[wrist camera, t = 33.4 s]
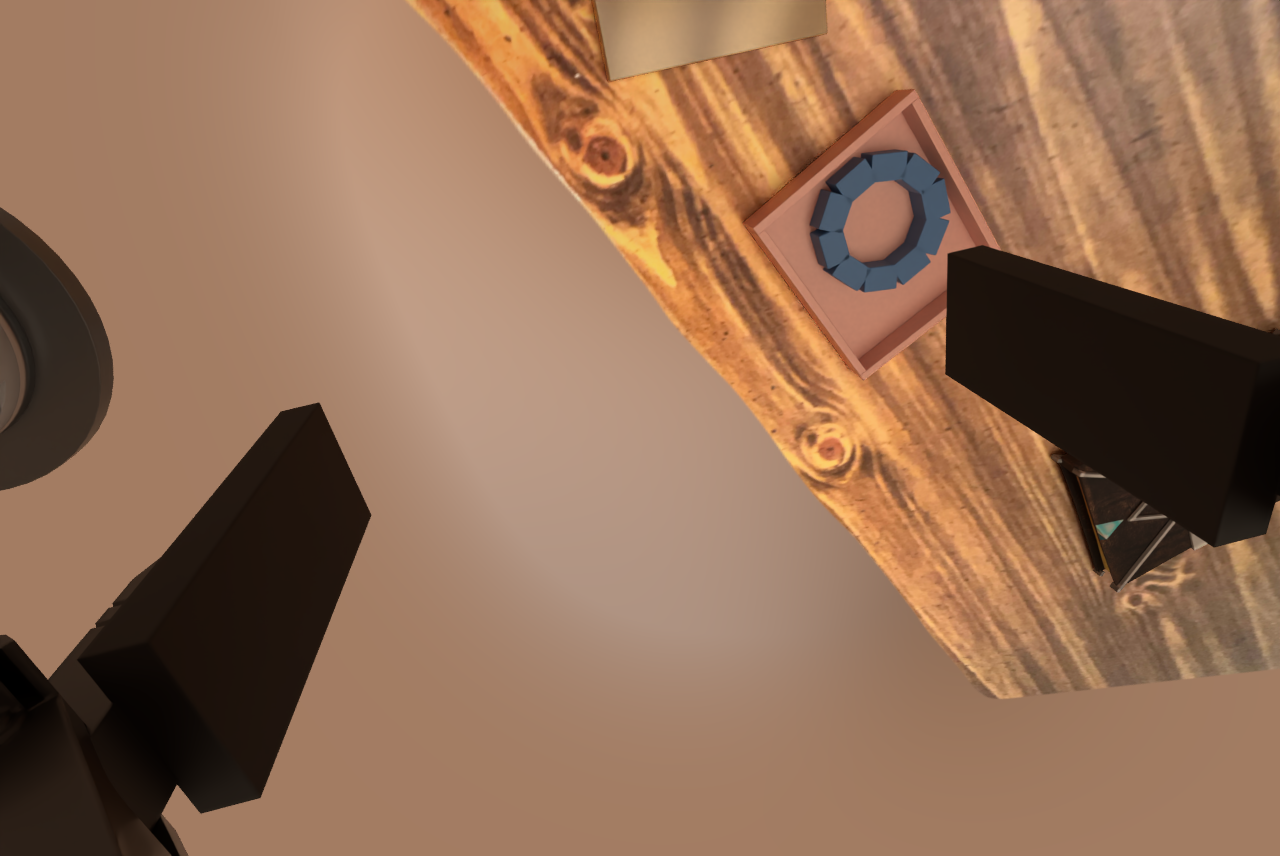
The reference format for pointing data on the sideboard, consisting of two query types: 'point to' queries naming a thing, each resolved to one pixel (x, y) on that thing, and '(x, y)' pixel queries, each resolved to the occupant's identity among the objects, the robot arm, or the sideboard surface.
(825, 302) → the tray
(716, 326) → the sideboard surface
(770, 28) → the tan post with base
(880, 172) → the ring
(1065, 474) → the book
